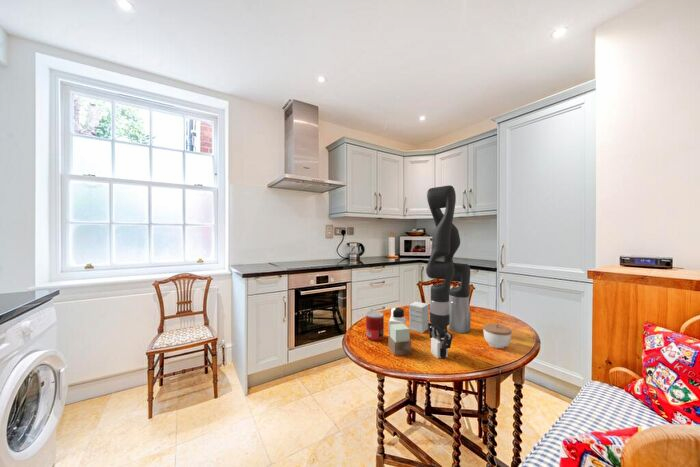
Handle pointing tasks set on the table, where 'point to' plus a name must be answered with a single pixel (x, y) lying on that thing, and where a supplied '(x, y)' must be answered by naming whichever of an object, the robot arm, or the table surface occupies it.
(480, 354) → the table surface
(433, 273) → the robot arm
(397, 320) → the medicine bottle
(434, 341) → the cream block
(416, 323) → the supplement box
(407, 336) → the sage block
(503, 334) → the lidded jar
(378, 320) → the canned food
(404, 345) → the walnut base block
